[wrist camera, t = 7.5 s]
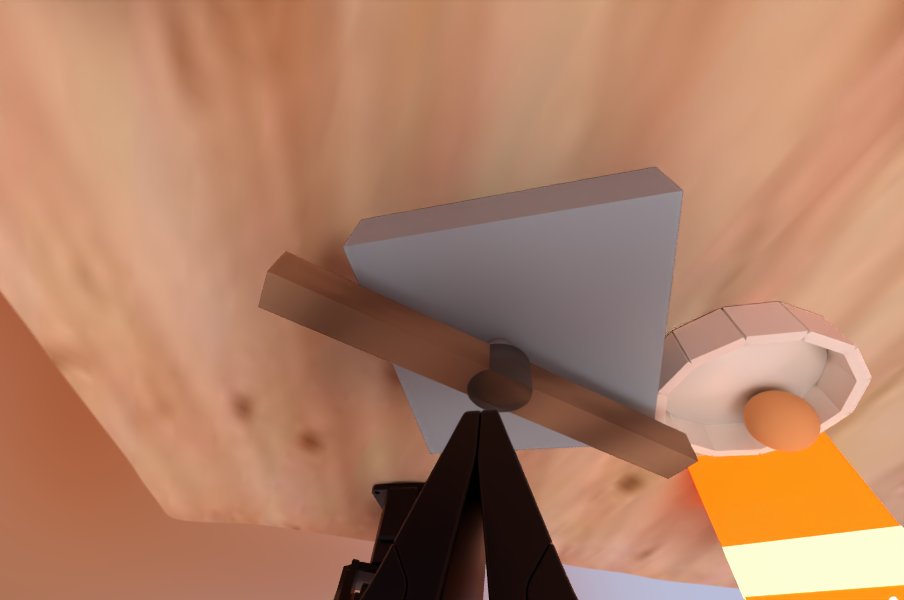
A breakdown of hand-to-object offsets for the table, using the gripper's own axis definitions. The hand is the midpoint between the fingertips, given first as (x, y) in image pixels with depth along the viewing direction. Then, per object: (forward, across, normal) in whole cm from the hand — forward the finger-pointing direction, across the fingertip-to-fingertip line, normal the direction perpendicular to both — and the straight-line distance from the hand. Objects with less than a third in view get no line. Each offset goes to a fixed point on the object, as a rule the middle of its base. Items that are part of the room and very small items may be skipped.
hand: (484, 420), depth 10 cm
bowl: (+12, -13, +12) cm, 21 cm away
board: (+12, -1, +6) cm, 13 cm away
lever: (+8, 0, +6) cm, 9 cm away
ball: (+10, -15, +14) cm, 23 cm away
